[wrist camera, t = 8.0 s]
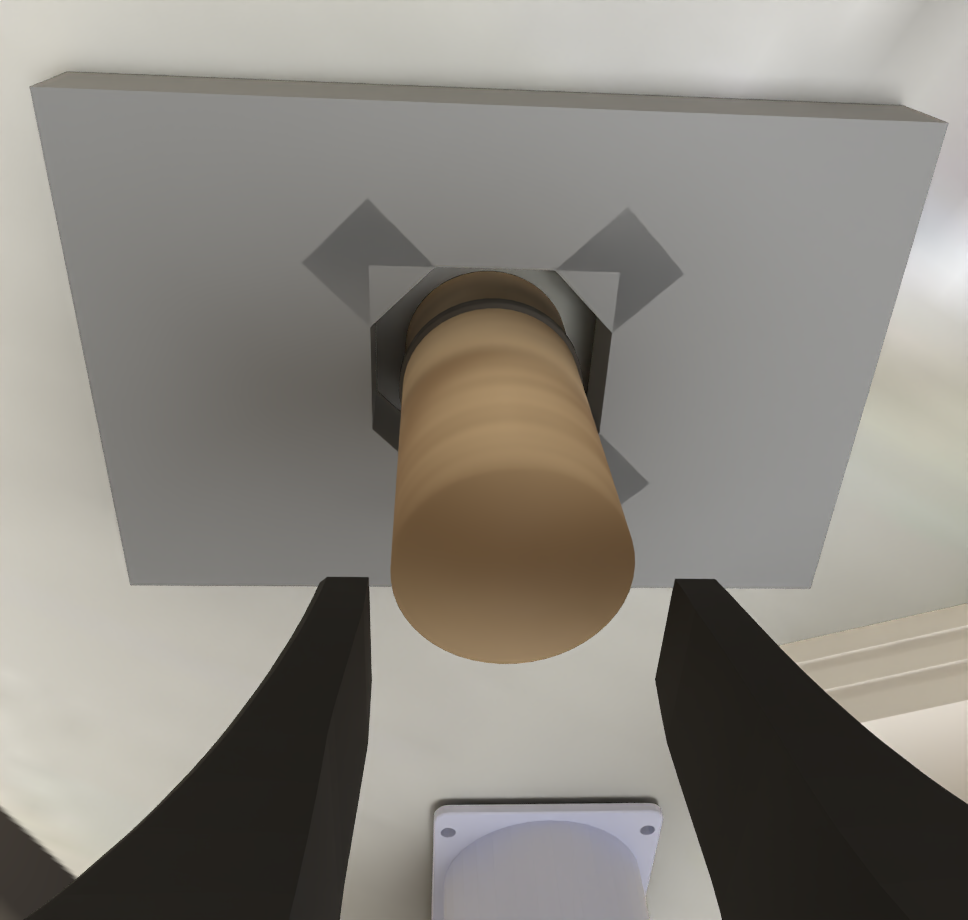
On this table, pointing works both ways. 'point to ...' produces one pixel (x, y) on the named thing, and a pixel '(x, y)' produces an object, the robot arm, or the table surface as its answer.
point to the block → (902, 686)
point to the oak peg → (502, 480)
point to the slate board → (472, 244)
